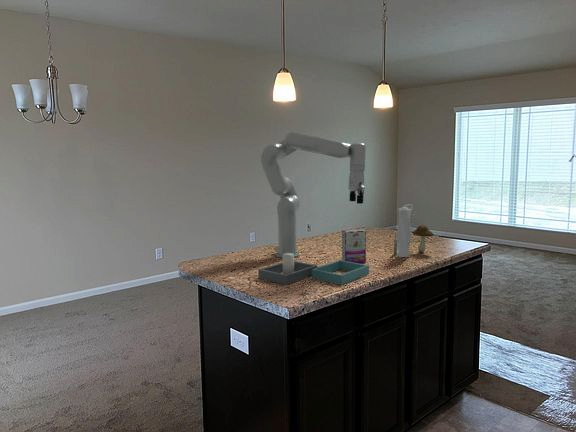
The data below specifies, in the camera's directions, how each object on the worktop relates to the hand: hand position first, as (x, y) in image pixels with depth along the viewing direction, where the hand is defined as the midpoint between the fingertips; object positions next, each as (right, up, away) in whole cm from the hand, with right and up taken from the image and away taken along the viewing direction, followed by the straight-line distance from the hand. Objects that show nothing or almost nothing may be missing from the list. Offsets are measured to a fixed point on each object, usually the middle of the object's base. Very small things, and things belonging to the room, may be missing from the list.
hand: (356, 202), depth 231 cm
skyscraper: (+27, -29, +11) cm, 41 cm away
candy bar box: (-2, -30, -2) cm, 31 cm away
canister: (-34, -34, -26) cm, 55 cm away
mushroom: (+39, -27, +20) cm, 52 cm away
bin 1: (-34, -34, -26) cm, 55 cm away
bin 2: (-11, -34, -26) cm, 44 cm away
